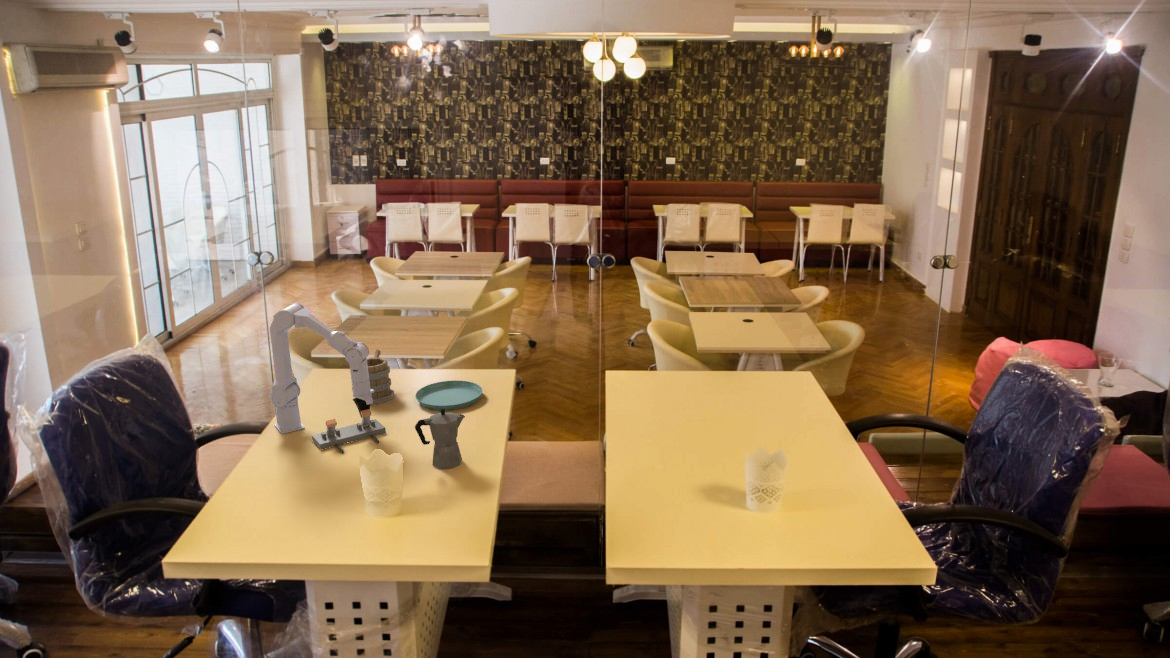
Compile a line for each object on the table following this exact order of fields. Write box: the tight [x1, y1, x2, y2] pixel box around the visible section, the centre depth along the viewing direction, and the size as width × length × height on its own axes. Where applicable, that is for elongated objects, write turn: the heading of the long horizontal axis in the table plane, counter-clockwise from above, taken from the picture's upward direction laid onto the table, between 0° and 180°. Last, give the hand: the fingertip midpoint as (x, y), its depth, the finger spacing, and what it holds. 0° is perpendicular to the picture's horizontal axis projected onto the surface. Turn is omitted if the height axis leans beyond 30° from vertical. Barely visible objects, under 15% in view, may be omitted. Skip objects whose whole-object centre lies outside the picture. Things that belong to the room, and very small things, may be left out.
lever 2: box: [360, 409, 372, 428], centre depth 299 cm, size 2×3×6 cm, turn 125°
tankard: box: [366, 349, 395, 405], centre depth 333 cm, size 20×13×15 cm, turn 179°
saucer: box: [414, 379, 483, 411], centre depth 327 cm, size 24×24×3 cm
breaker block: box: [311, 419, 387, 454], centre depth 295 cm, size 16×22×4 cm
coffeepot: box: [414, 409, 466, 470], centre depth 274 cm, size 15×9×18 cm, turn 110°
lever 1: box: [325, 418, 338, 437], centre depth 293 cm, size 2×3×6 cm, turn 125°
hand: (364, 418), depth 300 cm, fingers closed
